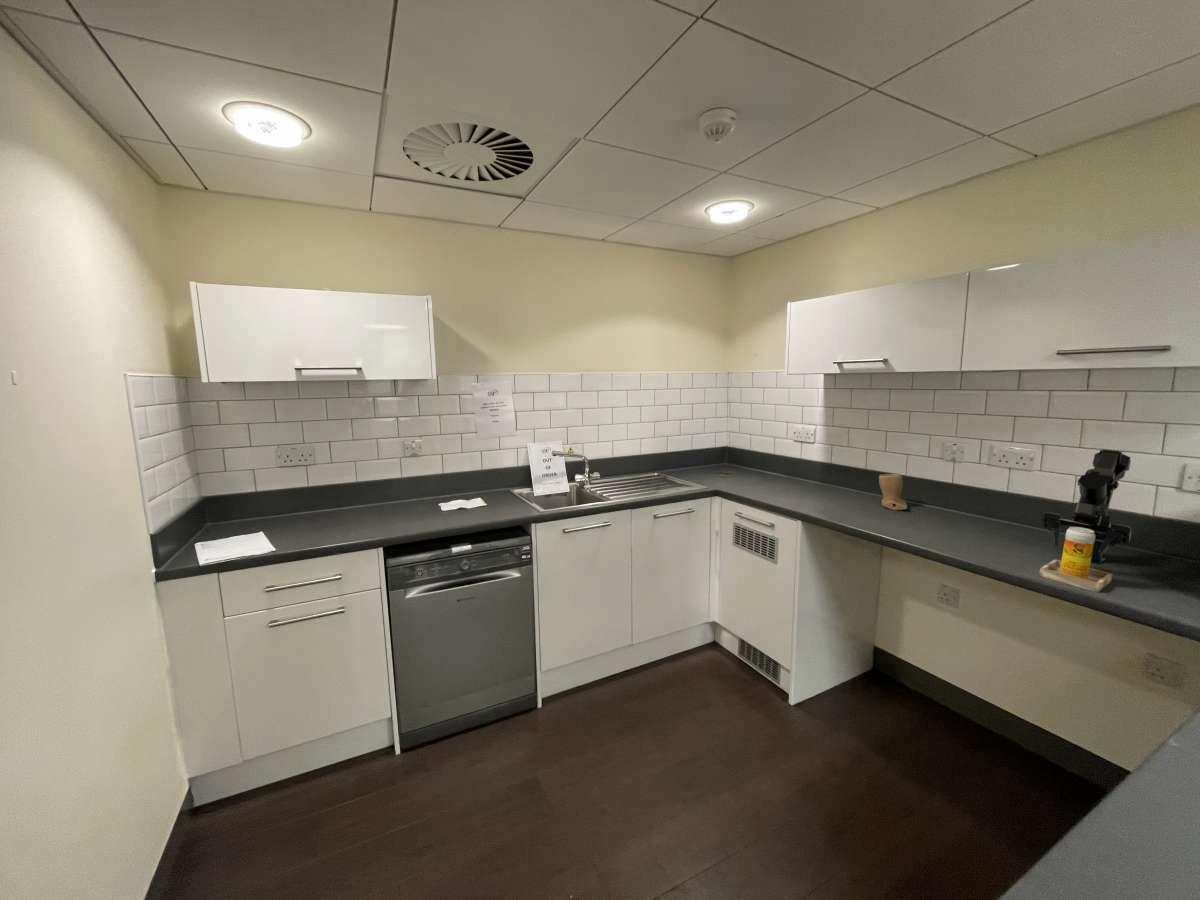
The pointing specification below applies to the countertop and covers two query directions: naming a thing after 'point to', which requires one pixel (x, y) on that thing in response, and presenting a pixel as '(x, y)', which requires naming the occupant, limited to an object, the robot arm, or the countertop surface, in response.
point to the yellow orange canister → (1077, 552)
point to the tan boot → (892, 491)
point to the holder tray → (1094, 581)
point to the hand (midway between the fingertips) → (1077, 550)
